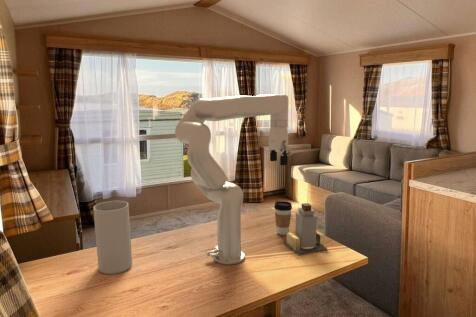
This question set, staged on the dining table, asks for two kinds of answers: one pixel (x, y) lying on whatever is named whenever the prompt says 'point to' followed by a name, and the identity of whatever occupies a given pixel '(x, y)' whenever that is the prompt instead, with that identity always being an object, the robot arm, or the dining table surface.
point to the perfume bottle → (306, 226)
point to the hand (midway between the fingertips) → (278, 162)
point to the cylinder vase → (113, 236)
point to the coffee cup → (282, 216)
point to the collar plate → (294, 245)
